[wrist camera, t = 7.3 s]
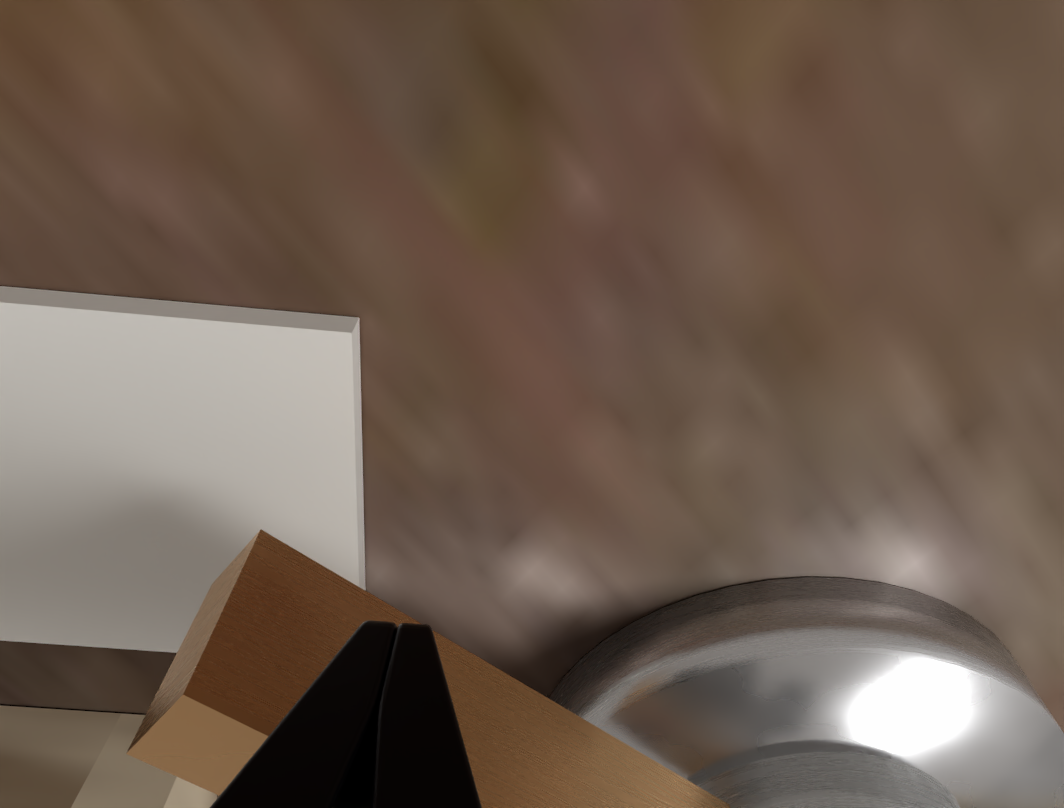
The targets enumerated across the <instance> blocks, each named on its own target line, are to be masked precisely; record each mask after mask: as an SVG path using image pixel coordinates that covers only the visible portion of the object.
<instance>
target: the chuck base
mask: <svg viewBox="0 0 1064 808" xmlns="http://www.w3.org/2000/svg"><path fill="white" fill-rule="evenodd" d="M549 699H550V700H552V701H554V702H555V703H557V704H559V705H561V706H562V707H564V708H566V709H567V710H569V711H571V712H572V713H574V714H576V715H578V716H579V717H581V718H583V719H584V720H586V721H588V722H589V723H591V724H593V725H595V726H596V727H598V728H600V729H601V730H603V731H605V732H606V733H608V734H610V735H612V736H613V737H615V738H617V739H618V740H620V741H622V742H623V743H625V744H627V745H629V746H630V747H632V748H634V749H635V750H637V751H639V752H640V753H642V754H644V755H646V756H647V757H649V758H651V759H652V760H654V761H656V762H658V763H659V764H661V765H663V766H664V767H666V768H668V769H669V770H671V771H673V772H675V773H676V774H678V775H680V776H681V777H683V778H685V779H686V780H688V781H690V782H692V783H693V784H695V785H697V784H699V783H701V782H703V781H704V780H706V779H708V778H710V777H712V776H715V775H717V774H719V773H722V772H724V771H726V770H729V769H732V768H735V767H738V766H741V765H744V764H747V763H750V762H754V761H758V760H762V759H767V758H771V757H776V756H783V755H789V754H796V753H809V752H850V753H861V754H868V755H874V756H879V757H885V758H888V759H892V760H895V761H899V762H902V763H905V764H908V765H910V766H912V767H915V768H917V769H919V770H922V771H923V772H925V773H927V774H928V775H930V776H932V777H934V778H935V779H937V780H938V781H939V782H940V783H941V784H943V785H944V786H945V787H946V788H947V789H948V790H949V791H950V792H951V794H952V795H953V796H954V797H955V798H956V800H957V802H958V804H959V806H960V808H1064V733H1063V732H1062V730H1061V728H1060V727H1059V725H1058V724H1057V722H1056V721H1055V719H1054V718H1053V716H1052V715H1051V713H1050V712H1049V710H1048V709H1047V707H1046V706H1045V704H1044V703H1043V701H1042V700H1041V698H1040V697H1039V695H1038V693H1037V692H1036V690H1035V689H1034V687H1033V686H1032V684H1031V683H1030V681H1029V680H1028V678H1027V677H1026V675H1025V674H1024V672H1023V671H1022V669H1021V668H1020V666H1019V665H1018V663H1017V662H1016V660H1015V658H1014V657H1013V655H1012V654H1011V652H1010V651H1009V650H1008V649H1007V648H1006V646H1005V645H1004V644H1003V643H1002V642H1001V641H1000V640H999V639H998V638H997V637H996V635H995V634H994V633H993V632H991V631H990V630H989V629H988V628H986V627H985V626H984V625H982V624H981V623H980V622H978V621H977V620H976V619H975V618H973V617H972V616H970V615H968V614H967V613H965V612H963V611H961V610H959V609H957V608H955V607H954V606H952V605H950V604H948V603H946V602H944V601H941V600H939V599H936V598H933V597H930V596H928V595H925V594H922V593H920V592H917V591H914V590H910V589H906V588H901V587H897V586H893V585H889V584H885V583H880V582H872V581H864V580H856V579H848V578H819V577H805V578H791V579H776V580H767V581H761V582H755V583H749V584H743V585H737V586H731V587H728V588H724V589H720V590H716V591H712V592H708V593H705V594H701V595H697V596H694V597H691V598H689V599H686V600H683V601H681V602H678V603H675V604H672V605H670V606H667V607H664V608H662V609H660V610H658V611H656V612H653V613H651V614H649V615H647V616H645V617H643V618H641V619H639V620H637V621H635V622H633V623H631V624H629V625H628V626H626V627H625V628H623V629H621V630H620V631H618V632H617V633H615V634H613V635H612V636H610V637H609V638H607V639H605V640H604V641H603V642H601V643H600V644H599V645H598V646H596V647H595V648H594V649H593V650H592V651H590V652H589V653H588V654H587V655H585V656H584V657H583V658H582V659H580V661H579V662H578V663H577V664H576V665H575V666H574V667H573V668H572V669H571V670H570V671H569V672H568V673H567V674H566V675H565V676H564V677H563V679H562V680H561V681H560V683H559V684H558V686H557V687H556V688H555V690H554V691H553V693H552V694H551V696H550V697H549Z"/></svg>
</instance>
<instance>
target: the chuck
mask: <svg viewBox="0 0 1064 808" xmlns="http://www.w3.org/2000/svg"><path fill="white" fill-rule="evenodd" d="M368 620H372V621H386V622H393V623H395V624H396V625H397V627H398V626H399V624H401V623H414V624H421V623H419V622H418V621H416V620H414V619H413V618H411V617H409V616H408V615H406V614H404V613H402V612H401V611H399V610H397V609H396V608H394V607H392V606H391V605H389V604H387V603H385V602H384V601H382V600H380V599H379V598H377V597H375V596H374V595H372V594H370V593H368V592H367V591H365V590H363V589H362V588H360V587H358V586H357V585H355V584H353V583H351V582H350V581H348V580H346V579H345V578H343V577H341V576H339V575H338V574H336V573H334V572H333V571H331V570H329V569H328V568H326V567H324V566H322V565H321V564H319V563H317V562H316V561H314V560H312V559H311V558H309V557H307V556H305V555H304V554H302V553H300V552H299V551H297V550H295V549H294V548H292V547H290V546H288V545H287V544H285V543H283V542H282V541H280V540H278V539H277V538H275V537H273V536H271V535H270V534H268V533H266V532H265V531H263V530H260V531H259V532H258V533H257V534H256V535H255V536H254V537H253V539H252V540H251V541H250V542H249V543H248V544H247V545H246V546H245V547H244V549H243V550H242V551H241V552H240V553H239V554H238V555H237V556H236V558H235V559H234V560H233V561H232V562H231V563H230V564H229V565H228V567H227V568H226V569H225V570H224V571H223V572H222V573H221V574H220V575H219V577H218V578H217V579H216V580H215V581H214V582H213V583H212V585H211V587H210V589H209V591H208V593H207V595H206V597H205V599H204V601H203V603H202V605H201V606H200V608H199V610H198V612H197V614H196V616H195V618H194V620H193V622H192V624H191V626H190V628H189V630H188V632H187V634H186V636H185V638H184V640H183V642H182V644H181V646H180V648H179V650H178V652H177V654H176V656H175V658H174V660H173V662H172V664H171V666H170V668H169V670H168V672H167V674H166V676H165V678H164V680H163V682H162V684H161V686H160V688H159V690H158V692H157V694H156V695H155V697H154V699H153V701H152V703H151V705H150V707H149V709H148V711H147V713H146V715H145V717H144V719H143V721H142V723H141V725H140V727H139V729H138V731H137V733H136V735H135V737H134V739H133V741H132V743H131V745H130V747H129V749H128V751H127V753H126V754H127V755H130V756H132V757H134V758H136V759H139V760H141V761H143V762H145V763H147V764H150V765H152V766H154V767H156V768H159V769H161V770H163V771H165V772H168V773H170V774H172V775H174V776H176V777H179V778H181V779H183V780H185V781H188V782H190V783H192V784H194V785H197V786H199V787H201V788H203V789H205V790H208V791H210V792H212V793H214V794H217V795H219V796H220V794H221V793H222V792H223V791H224V790H225V788H226V787H227V786H228V785H229V784H230V782H231V781H232V780H233V779H234V777H235V776H236V775H237V774H238V773H239V771H240V770H241V769H242V768H243V767H244V765H245V764H246V763H247V762H248V761H249V759H250V758H251V757H252V756H253V754H254V753H255V752H256V751H257V750H258V748H259V747H260V746H261V745H262V744H263V742H264V741H265V740H266V739H267V737H268V736H269V735H270V734H271V733H272V731H273V730H274V729H275V728H276V727H277V725H278V724H279V723H280V722H281V720H282V719H283V718H284V717H285V716H286V714H287V713H288V712H289V711H290V710H291V708H292V707H293V706H294V705H295V703H296V702H297V701H298V700H299V699H300V697H301V696H302V695H303V694H304V693H305V691H306V690H307V689H308V688H309V687H310V685H311V684H312V683H313V682H314V680H315V679H316V678H317V677H318V676H319V674H320V673H321V672H322V671H323V670H324V668H325V667H326V666H327V665H328V663H329V662H330V661H331V660H332V659H333V657H334V656H335V655H336V654H337V653H338V651H339V650H340V649H341V648H342V646H343V645H344V644H345V643H346V642H347V640H348V639H349V638H350V637H351V636H352V634H353V633H354V632H355V631H356V630H357V628H358V627H359V626H360V625H361V624H362V623H363V622H365V621H368ZM432 631H433V630H432ZM433 634H434V638H435V641H436V645H437V648H438V652H439V655H440V659H441V663H442V666H443V670H444V673H445V677H446V681H447V684H448V688H449V691H450V695H451V698H452V702H453V706H454V709H455V713H456V716H457V720H458V724H459V727H460V731H461V734H462V738H463V742H464V745H465V749H466V752H467V756H468V759H469V763H470V767H471V770H472V774H473V777H474V781H475V785H476V788H477V792H478V795H479V799H480V803H481V806H482V808H960V806H959V804H958V802H957V800H956V798H955V797H954V796H953V795H952V794H951V792H950V791H949V790H948V789H947V788H946V787H945V786H944V785H943V784H941V783H940V782H939V781H938V780H937V779H935V778H934V777H932V776H930V775H928V774H927V773H925V772H923V771H922V770H919V769H917V768H915V767H912V766H910V765H908V764H905V763H902V762H899V761H895V760H892V759H888V758H885V757H879V756H874V755H868V754H861V753H850V752H809V753H796V754H789V755H783V756H776V757H771V758H767V759H762V760H758V761H754V762H750V763H747V764H744V765H741V766H738V767H735V768H732V769H729V770H726V771H724V772H722V773H719V774H717V775H715V776H712V777H710V778H708V779H706V780H704V781H703V782H701V783H699V784H697V785H695V784H693V783H692V782H690V781H688V780H686V779H685V778H683V777H681V776H680V775H678V774H676V773H675V772H673V771H671V770H669V769H668V768H666V767H664V766H663V765H661V764H659V763H658V762H656V761H654V760H652V759H651V758H649V757H647V756H646V755H644V754H642V753H640V752H639V751H637V750H635V749H634V748H632V747H630V746H629V745H627V744H625V743H623V742H622V741H620V740H618V739H617V738H615V737H613V736H612V735H610V734H608V733H606V732H605V731H603V730H601V729H600V728H598V727H596V726H595V725H593V724H591V723H589V722H588V721H586V720H584V719H583V718H581V717H579V716H578V715H576V714H574V713H572V712H571V711H569V710H567V709H566V708H564V707H562V706H561V705H559V704H557V703H555V702H554V701H552V700H550V699H549V698H547V697H545V696H544V695H542V694H540V693H538V692H537V691H535V690H533V689H532V688H530V687H528V686H527V685H525V684H523V683H521V682H520V681H518V680H516V679H515V678H513V677H511V676H510V675H508V674H506V673H504V672H503V671H501V670H499V669H498V668H496V667H494V666H493V665H491V664H489V663H487V662H486V661H484V660H482V659H481V658H479V657H477V656H476V655H474V654H472V653H470V652H469V651H467V650H465V649H464V648H462V647H460V646H459V645H457V644H455V643H453V642H452V641H450V640H448V639H447V638H445V637H443V636H442V635H440V634H438V633H436V632H435V631H433Z"/></svg>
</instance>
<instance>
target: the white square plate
mask: <svg viewBox="0 0 1064 808" xmlns="http://www.w3.org/2000/svg"><path fill="white" fill-rule="evenodd" d="M260 530H263V531H265V532H266V533H268V534H270V535H271V536H273V537H275V538H277V539H278V540H280V541H282V542H283V543H285V544H287V545H288V546H290V547H292V548H294V549H295V550H297V551H299V552H300V553H302V554H304V555H305V556H307V557H309V558H311V559H312V560H314V561H316V562H317V563H319V564H321V565H322V566H324V567H326V568H328V569H329V570H331V571H333V572H334V573H336V574H338V575H339V576H341V577H343V578H345V579H346V580H348V581H350V582H351V583H353V584H355V585H357V586H358V587H360V588H362V589H363V590H365V591H366V588H365V545H364V502H363V458H362V415H361V372H360V329H359V317H347V316H336V315H325V314H313V313H302V312H291V311H279V310H268V309H257V308H245V307H234V306H222V305H211V304H200V303H188V302H177V301H166V300H154V299H143V298H131V297H120V296H109V295H97V294H86V293H75V292H63V291H52V290H40V289H29V288H18V287H6V286H0V640H1V641H15V642H30V643H44V644H58V645H73V646H87V647H101V648H116V649H130V650H144V651H159V652H173V653H177V652H178V650H179V648H180V646H181V644H182V642H183V640H184V638H185V636H186V634H187V632H188V630H189V628H190V626H191V624H192V622H193V620H194V618H195V616H196V614H197V612H198V610H199V608H200V606H201V605H202V603H203V601H204V599H205V597H206V595H207V593H208V591H209V589H210V587H211V585H212V583H213V582H214V581H215V580H216V579H217V578H218V577H219V575H220V574H221V573H222V572H223V571H224V570H225V569H226V568H227V567H228V565H229V564H230V563H231V562H232V561H233V560H234V559H235V558H236V556H237V555H238V554H239V553H240V552H241V551H242V550H243V549H244V547H245V546H246V545H247V544H248V543H249V542H250V541H251V540H252V539H253V537H254V536H255V535H256V534H257V533H258V532H259V531H260Z"/></svg>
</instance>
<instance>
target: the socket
mask: <svg viewBox="0 0 1064 808" xmlns="http://www.w3.org/2000/svg"><path fill="white" fill-rule="evenodd" d="M144 717H145V715H137V714H122V713H107V712H92V711H77V710H62V709H46V708H31V707H16V706H1V705H0V808H210V807H211V805H212V804H213V803H214V802H215V801H216V799H217V794H214V793H212V792H210V791H208V790H205V789H203V788H201V787H199V786H197V785H194V784H192V783H190V782H188V781H185V780H183V779H181V778H179V777H176V776H174V775H172V774H170V773H168V772H165V771H163V770H161V769H159V768H156V767H154V766H152V765H150V764H147V763H145V762H143V761H141V760H139V759H136V758H134V757H132V756H130V755H127V754H126V753H127V751H128V749H129V747H130V745H131V743H132V741H133V739H134V737H135V735H136V733H137V731H138V729H139V727H140V725H141V723H142V721H143V719H144Z"/></svg>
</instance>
